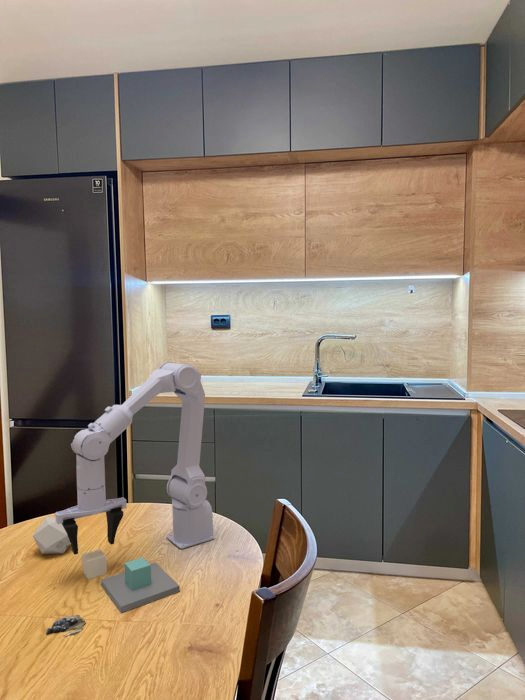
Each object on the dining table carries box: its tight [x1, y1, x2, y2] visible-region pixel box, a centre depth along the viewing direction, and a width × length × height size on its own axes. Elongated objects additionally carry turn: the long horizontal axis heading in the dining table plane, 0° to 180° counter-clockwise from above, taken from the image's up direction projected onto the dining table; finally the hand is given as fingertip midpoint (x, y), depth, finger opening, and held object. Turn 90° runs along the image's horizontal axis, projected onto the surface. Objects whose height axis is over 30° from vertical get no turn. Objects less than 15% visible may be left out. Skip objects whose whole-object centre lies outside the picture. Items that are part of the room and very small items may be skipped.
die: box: [32, 516, 71, 555], centre depth 117 cm, size 8×9×10 cm
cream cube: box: [81, 548, 108, 580], centre depth 107 cm, size 4×4×4 cm
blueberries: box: [45, 614, 87, 637], centre depth 88 cm, size 7×8×2 cm
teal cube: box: [124, 556, 151, 591], centre depth 100 cm, size 4×4×4 cm
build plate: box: [100, 561, 181, 614], centre depth 100 cm, size 12×12×1 cm
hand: (93, 547), depth 107 cm, fingers open, 7 cm apart
